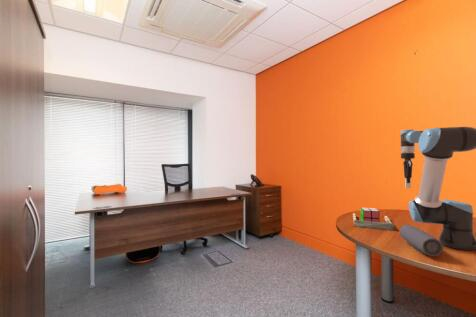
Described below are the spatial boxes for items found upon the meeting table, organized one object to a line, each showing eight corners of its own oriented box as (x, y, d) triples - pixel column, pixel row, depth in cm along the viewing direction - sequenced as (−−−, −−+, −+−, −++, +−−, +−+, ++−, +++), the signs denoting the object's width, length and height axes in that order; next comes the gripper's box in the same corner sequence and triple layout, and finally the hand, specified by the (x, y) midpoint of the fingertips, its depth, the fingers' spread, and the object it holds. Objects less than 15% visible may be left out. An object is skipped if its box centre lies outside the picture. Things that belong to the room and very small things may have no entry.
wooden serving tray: (394, 230, 149) (394, 224, 149) (354, 226, 158) (354, 220, 158) (386, 219, 176) (386, 213, 176) (352, 216, 186) (352, 211, 186)
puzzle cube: (379, 225, 159) (379, 211, 159) (363, 224, 162) (363, 210, 162) (375, 222, 169) (375, 208, 169) (360, 221, 172) (360, 207, 172)
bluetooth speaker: (444, 259, 106) (444, 237, 106) (421, 258, 108) (421, 236, 108) (417, 242, 128) (417, 224, 128) (398, 241, 130) (398, 223, 130)
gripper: (398, 153, 165) (399, 186, 165) (403, 152, 153) (403, 188, 153) (411, 152, 162) (412, 186, 162) (417, 152, 150) (417, 189, 150)
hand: (408, 187), depth 157 cm, fingers closed
